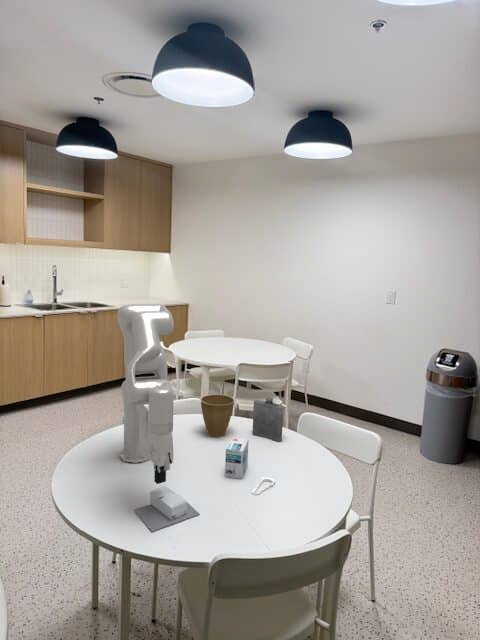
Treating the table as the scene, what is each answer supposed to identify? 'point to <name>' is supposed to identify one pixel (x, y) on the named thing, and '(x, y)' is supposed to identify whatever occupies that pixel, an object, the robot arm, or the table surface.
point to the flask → (268, 419)
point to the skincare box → (168, 502)
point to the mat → (161, 517)
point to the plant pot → (217, 413)
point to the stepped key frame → (265, 479)
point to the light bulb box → (236, 458)
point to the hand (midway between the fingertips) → (160, 481)
